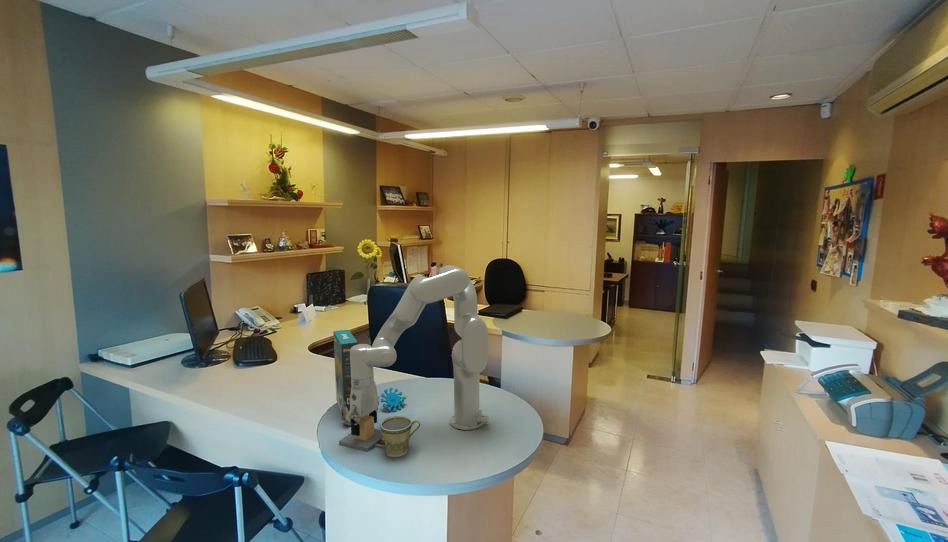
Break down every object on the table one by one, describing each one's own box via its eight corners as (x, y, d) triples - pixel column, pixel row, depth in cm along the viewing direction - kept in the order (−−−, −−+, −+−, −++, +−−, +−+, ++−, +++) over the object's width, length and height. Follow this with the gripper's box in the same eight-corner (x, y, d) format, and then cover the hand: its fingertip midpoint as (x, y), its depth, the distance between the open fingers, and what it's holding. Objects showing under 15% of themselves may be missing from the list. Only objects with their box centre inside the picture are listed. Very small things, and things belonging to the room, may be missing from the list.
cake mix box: (360, 417, 163) (357, 342, 159) (344, 420, 160) (341, 344, 157) (350, 397, 182) (348, 329, 179) (336, 399, 180) (333, 331, 176)
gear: (383, 411, 164) (379, 387, 170) (379, 417, 168) (375, 394, 174) (409, 408, 170) (405, 386, 176) (404, 415, 174) (400, 392, 180)
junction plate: (398, 436, 148) (397, 421, 147) (378, 454, 137) (377, 437, 136) (361, 428, 154) (360, 413, 153) (338, 444, 143) (338, 428, 142)
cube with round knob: (374, 434, 147) (373, 413, 146) (365, 440, 143) (365, 419, 142) (363, 431, 149) (362, 411, 148) (354, 438, 145) (353, 417, 144)
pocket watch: (367, 420, 160) (366, 395, 159) (353, 430, 152) (352, 404, 151) (349, 417, 163) (348, 392, 162) (335, 427, 155) (334, 401, 154)
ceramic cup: (384, 463, 131) (383, 433, 130) (378, 448, 140) (377, 419, 139) (424, 454, 137) (424, 424, 135) (416, 439, 146) (415, 412, 145)
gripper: (355, 391, 134) (357, 442, 136) (386, 373, 150) (388, 419, 152) (336, 388, 137) (339, 438, 139) (369, 371, 153) (370, 416, 155)
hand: (364, 428), depth 146 cm, fingers open, 9 cm apart
